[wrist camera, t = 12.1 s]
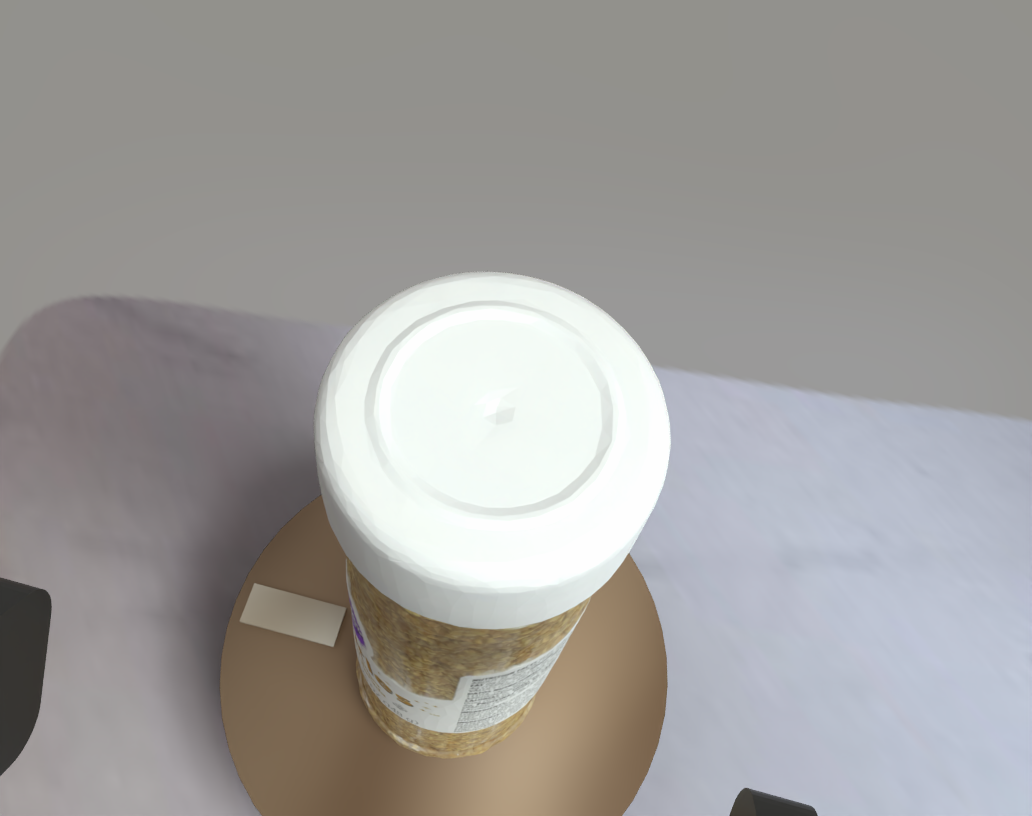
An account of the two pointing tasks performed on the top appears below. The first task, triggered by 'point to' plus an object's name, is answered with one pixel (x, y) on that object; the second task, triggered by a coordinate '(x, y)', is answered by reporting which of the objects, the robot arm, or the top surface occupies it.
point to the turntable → (397, 770)
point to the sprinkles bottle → (481, 493)
